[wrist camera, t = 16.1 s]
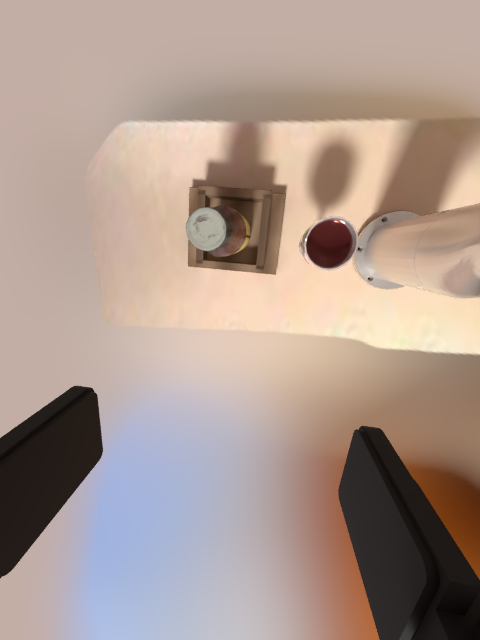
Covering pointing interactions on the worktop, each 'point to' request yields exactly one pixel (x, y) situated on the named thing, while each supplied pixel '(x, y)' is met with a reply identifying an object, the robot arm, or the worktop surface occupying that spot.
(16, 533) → the robot arm
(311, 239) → the wineglass
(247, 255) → the caddy
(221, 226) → the sauce bottle
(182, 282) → the worktop surface
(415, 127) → the worktop surface
